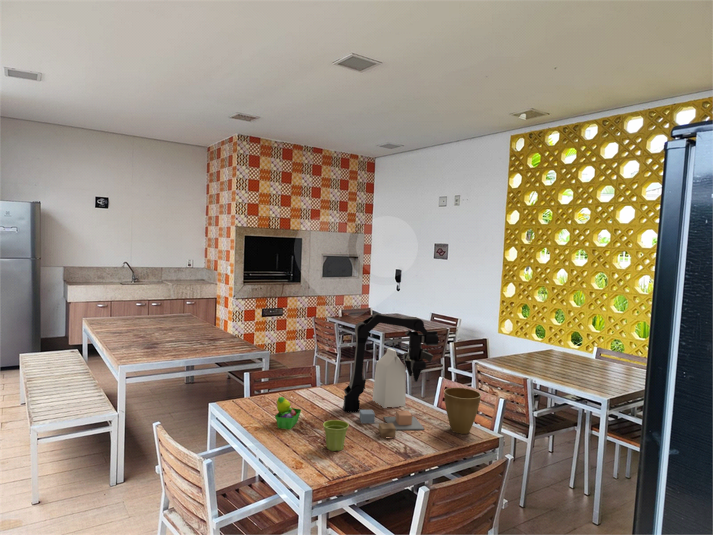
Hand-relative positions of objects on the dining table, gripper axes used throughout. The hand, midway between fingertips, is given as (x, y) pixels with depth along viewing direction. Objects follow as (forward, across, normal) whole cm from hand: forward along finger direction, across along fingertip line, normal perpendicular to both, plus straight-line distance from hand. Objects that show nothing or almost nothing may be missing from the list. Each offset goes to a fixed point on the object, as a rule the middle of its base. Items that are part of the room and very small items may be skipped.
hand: (413, 378), depth 218 cm
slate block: (+15, -13, +23) cm, 30 cm away
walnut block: (+15, -29, +18) cm, 37 cm away
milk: (+15, +10, +8) cm, 20 cm away
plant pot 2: (+15, -25, -14) cm, 32 cm away
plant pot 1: (+15, -40, +40) cm, 59 cm away
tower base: (+15, -17, +8) cm, 24 cm away
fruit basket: (+15, -17, +57) cm, 62 cm away
